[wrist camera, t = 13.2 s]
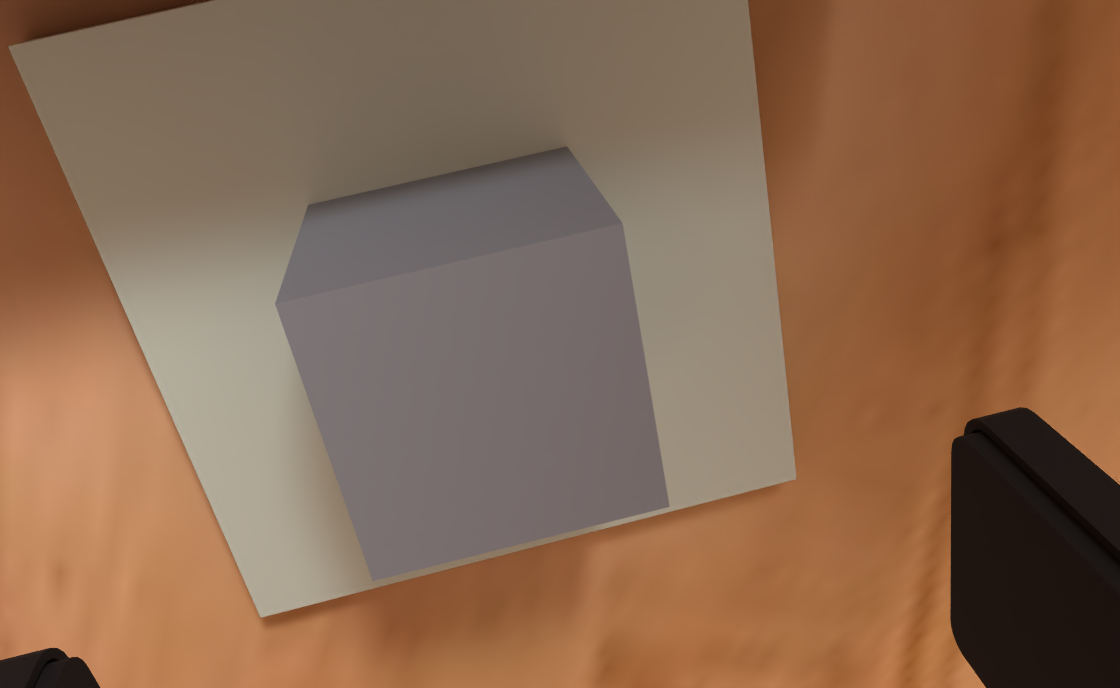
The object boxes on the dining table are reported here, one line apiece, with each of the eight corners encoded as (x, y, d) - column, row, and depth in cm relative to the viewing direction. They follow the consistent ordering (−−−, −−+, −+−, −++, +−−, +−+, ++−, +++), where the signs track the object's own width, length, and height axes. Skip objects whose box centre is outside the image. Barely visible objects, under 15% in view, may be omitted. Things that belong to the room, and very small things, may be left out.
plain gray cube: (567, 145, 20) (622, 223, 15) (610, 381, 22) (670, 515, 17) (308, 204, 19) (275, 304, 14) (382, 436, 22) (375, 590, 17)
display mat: (723, -114, 19) (736, -116, 18) (785, 463, 25) (796, 479, 24) (23, 41, 18) (7, 46, 17) (265, 596, 24) (260, 617, 23)
